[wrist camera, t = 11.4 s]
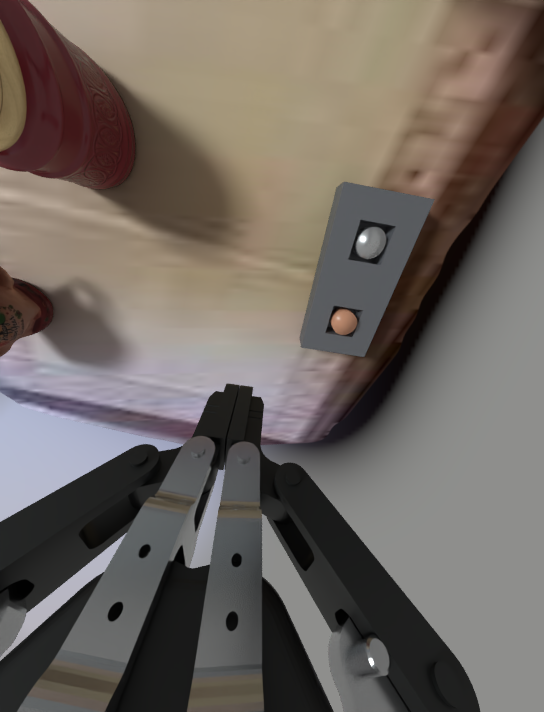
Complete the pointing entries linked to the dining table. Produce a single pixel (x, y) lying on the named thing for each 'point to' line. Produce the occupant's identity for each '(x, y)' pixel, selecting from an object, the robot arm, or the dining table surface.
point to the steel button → (369, 242)
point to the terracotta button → (343, 320)
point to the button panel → (360, 264)
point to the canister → (58, 106)
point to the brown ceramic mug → (21, 310)
